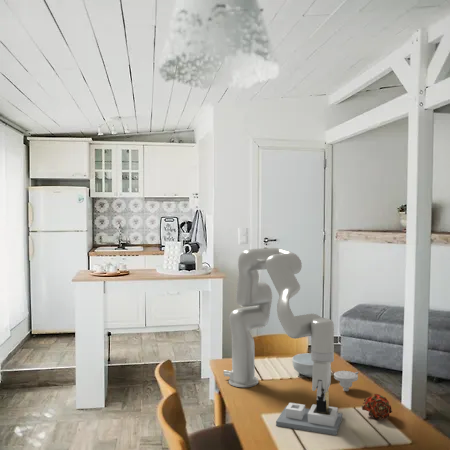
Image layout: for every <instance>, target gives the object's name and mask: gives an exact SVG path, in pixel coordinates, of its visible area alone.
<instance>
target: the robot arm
mask: <svg viewBox="0 0 450 450" xmlns="http://www.w3.org/2000/svg"><path fill="white" fill-rule="evenodd" d="M302 264H303V263H302V260H301V259H300V257H299V255H298V254H296V253H294V252H291V251H288V250H285V249H282V248H278V247H266V248H251V249H245V250H242V251H241V252H240V254H239V256H238V259H237V267H238V278H237V284H236V290H235V291H236V292H235V302H236V304H237V305H238V306H240V307H239V308H235V309H234V310H232V311H231V312H230V314H229V317H228V323H229V327H230V333H231V334H230V335H231V368H232V369H231V370H226V369H223V376H224V377H229V378H228V385H229V384H230V385H231V386H232V387H237V388H251V387H255V386H256V385H258V384H259V379H258V377H257V376H255V371H256V370H255V366H256V365H255V340H254V337H253V335H252V333H251V332H250V331H252V330H256V329H262V328H265V327H266V326H267V325H268V323H269V320H270V314H271V308H272V302H273V293H272V289H271V287H270V285H269V284H267V283H266V282H263V281H261V282H259V280H260V279H259V278H260V276H259V275H260V274H259V271H261V270H263V271H264V270H266V271H267V273H268V276H269V278H270V280H271V282H272V283H273V286H274V287H275V289H276V291H277V293H278V296H279V297H278V299H277V304H276V311H277V313H276V314H277V318H278V322H279V323H280V325H281V328H282V329H283V331H284V333H285V334H286V335H287V337H289V338H291V339H302V338H306V337H310V339H311V340H310V342H311V343H310V345H311V346H310V349H311V350H310V353H311V360H312V361H314V363H313V377H311V378H312V380H311V385H312V386H311V387H312V388H311V390H312V392H315V391H316V405H317V412H324V413H326V400H325V397H326V392H327V390H328V391H329V388H330V386H331V384H332V383H331V381H332V366H331V365H332V363H334V361H335V359H334V358H335V351H334V350H335V347H334V346H335V343H334V342H335V339H334V335H335V332H334V331H335V330H334V329H335V328H334V327H335V325H334V321H332V319H330V318H326V317H322V316H320V315H318V314H317V313H308V314H306V313H305V314H299V315H294V314H293V313H294V312H293V310H292V309H291V306H290V299H292V298H293V297H295V296H296V295H297V294H298V293H299V292H300V290H301V284H300V282H299V280H298V279H297V277H296V275H298V274H299V273H300V272H301V270H302V268H303V266H302ZM322 389H324V391H322ZM322 393H323V395H322Z"/></svg>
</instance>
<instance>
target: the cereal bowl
mask: <svg viewBox="0 0 450 450" xmlns="http://www.w3.org/2000/svg"><path fill="white" fill-rule="evenodd" d="M291 362H292V366H293V369H294V370H295V371H296V372H297V373H298V374H301V375H303V376H305V377H308V378H312V377H313V363H314V361H312V360H311V352H309V353H308V352H306V353H305V352H303V353H297V354H295V355H294V356H292V359H291Z"/></svg>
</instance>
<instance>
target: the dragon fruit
mask: <svg viewBox="0 0 450 450" xmlns="http://www.w3.org/2000/svg"><path fill="white" fill-rule="evenodd" d="M362 404H363V405H361V409H362V411H366V412H368V416H369V417H370V418H375V419H376V420H382V421H383V420H384V419H388V418H390V414H391V413H393V410H392V406H391V404H390V402H389V400H388V399H387V398H386V397H385V396H383V395H382V394H378V393H374V394H373V396H368V397H366V398H364V402H362Z"/></svg>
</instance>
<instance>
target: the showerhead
mask: <svg viewBox="0 0 450 450" xmlns="http://www.w3.org/2000/svg"><path fill="white" fill-rule="evenodd" d="M333 378H334V379H335V381H339V386H340V387H342V390H343V391H344V392H349V390H350V389H349V388H351V387H353V383H354V382H357V381H358V379H359V372H358V371H355V372H354V371H349V370H348V371H347V370H338V371H335V372H334V373H333Z"/></svg>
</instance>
